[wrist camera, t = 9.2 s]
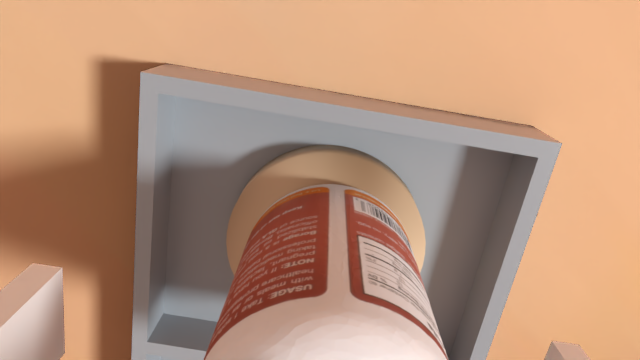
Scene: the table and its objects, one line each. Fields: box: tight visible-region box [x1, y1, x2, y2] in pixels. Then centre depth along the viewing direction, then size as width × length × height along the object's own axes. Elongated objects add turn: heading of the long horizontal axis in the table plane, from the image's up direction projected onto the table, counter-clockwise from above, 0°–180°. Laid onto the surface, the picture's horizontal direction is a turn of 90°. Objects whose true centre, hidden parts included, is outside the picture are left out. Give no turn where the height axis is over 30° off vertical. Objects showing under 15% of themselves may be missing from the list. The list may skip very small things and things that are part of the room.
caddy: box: [131, 64, 562, 360], centre depth 20 cm, size 14×22×2 cm, turn 171°
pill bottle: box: [204, 184, 448, 360], centre depth 13 cm, size 6×6×11 cm
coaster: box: [226, 145, 426, 276], centre depth 19 cm, size 8×8×1 cm
